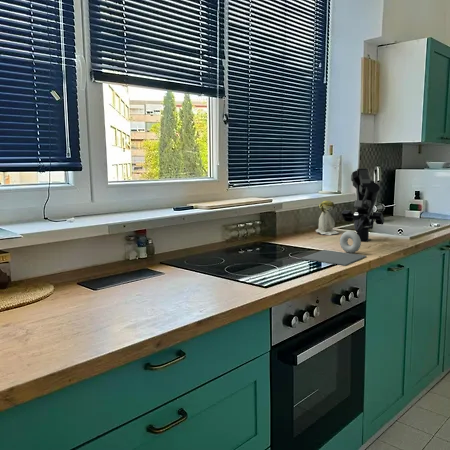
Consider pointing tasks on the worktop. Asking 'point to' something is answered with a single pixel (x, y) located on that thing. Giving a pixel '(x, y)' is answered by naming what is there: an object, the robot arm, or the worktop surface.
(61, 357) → the worktop surface
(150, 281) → the worktop surface
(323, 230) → the white figurine
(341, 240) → the donut
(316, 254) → the mat
